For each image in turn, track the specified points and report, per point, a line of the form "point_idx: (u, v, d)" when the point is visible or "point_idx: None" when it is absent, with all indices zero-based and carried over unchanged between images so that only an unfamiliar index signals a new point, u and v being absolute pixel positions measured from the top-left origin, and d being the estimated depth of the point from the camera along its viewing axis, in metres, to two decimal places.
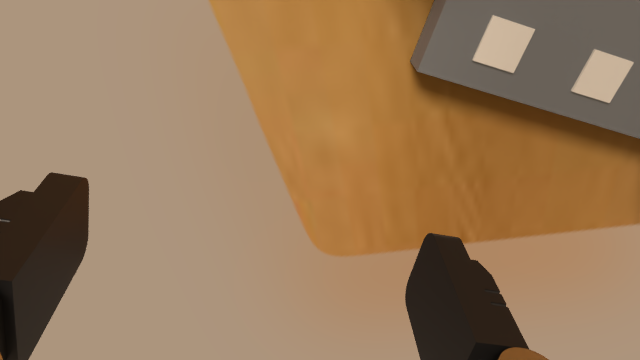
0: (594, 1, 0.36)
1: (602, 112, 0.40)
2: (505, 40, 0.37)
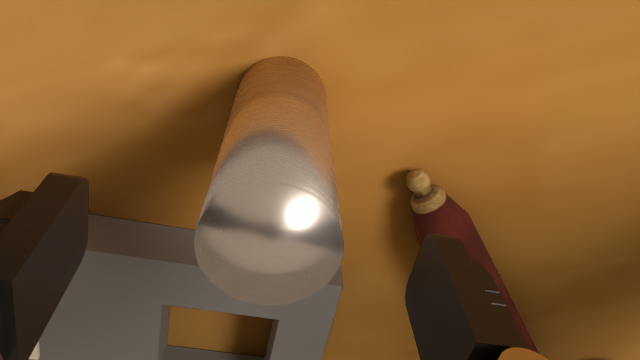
0: None
1: None
2: None
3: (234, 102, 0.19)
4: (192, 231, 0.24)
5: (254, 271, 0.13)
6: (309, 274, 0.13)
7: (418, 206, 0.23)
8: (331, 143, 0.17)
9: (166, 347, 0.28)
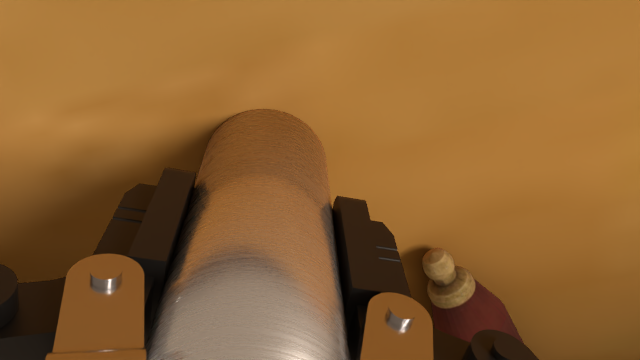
0: None
1: None
2: None
3: (196, 182, 0.13)
4: None
5: None
6: None
7: (439, 298, 0.17)
8: (337, 256, 0.12)
9: None
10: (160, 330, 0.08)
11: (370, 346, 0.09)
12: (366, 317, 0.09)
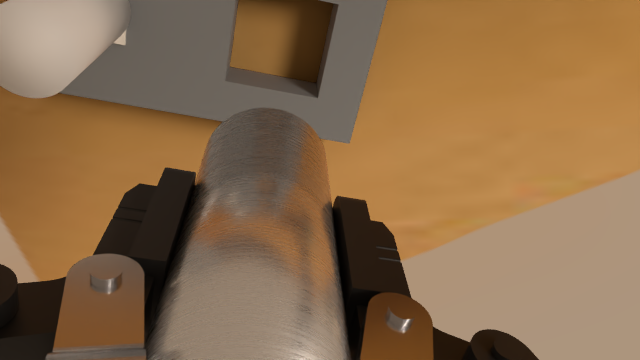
0: None
1: None
2: None
3: (196, 180, 0.13)
4: None
5: None
6: None
7: None
8: (337, 254, 0.11)
9: None
10: (160, 328, 0.08)
11: (370, 346, 0.09)
12: (366, 317, 0.09)
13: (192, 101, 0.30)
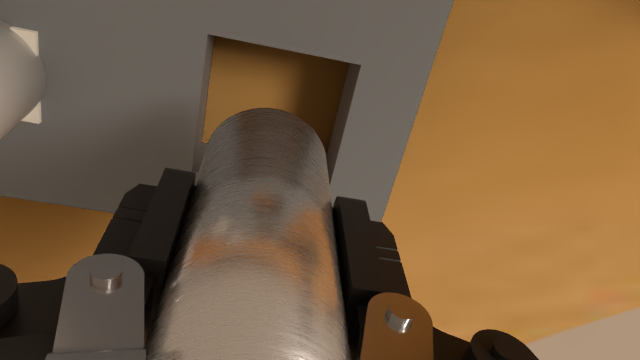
0: None
1: None
2: None
3: (196, 181, 0.13)
4: None
5: None
6: None
7: None
8: (337, 255, 0.11)
9: None
10: (160, 329, 0.08)
11: (370, 346, 0.09)
12: (366, 317, 0.09)
13: None
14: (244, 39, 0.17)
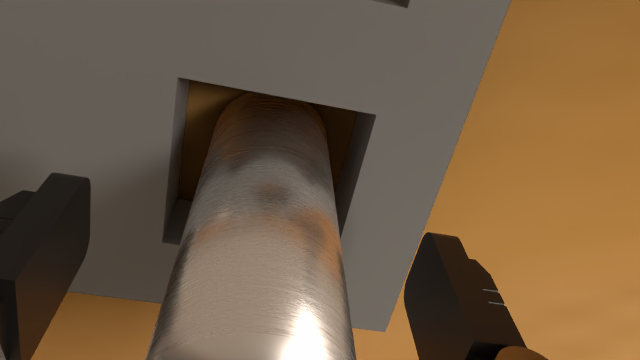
0: None
1: None
2: None
3: (208, 152, 0.15)
4: None
5: None
6: None
7: None
8: (336, 216, 0.13)
9: None
10: (182, 267, 0.10)
11: None
12: None
13: (104, 274, 0.16)
14: (225, 83, 0.13)
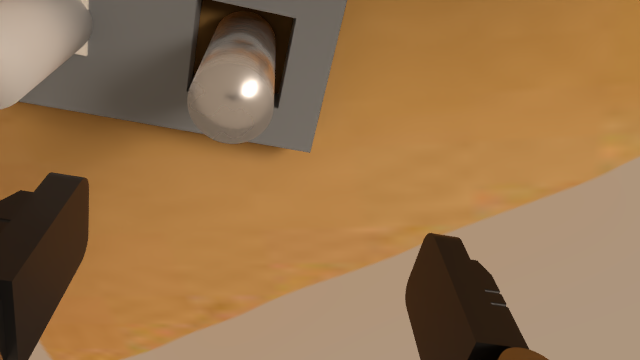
0: None
1: None
2: None
3: None
4: None
5: (222, 120, 0.23)
6: (254, 122, 0.23)
7: None
8: (274, 60, 0.27)
9: None
10: (203, 60, 0.24)
11: None
12: None
13: (154, 110, 0.30)
14: (220, 0, 0.27)
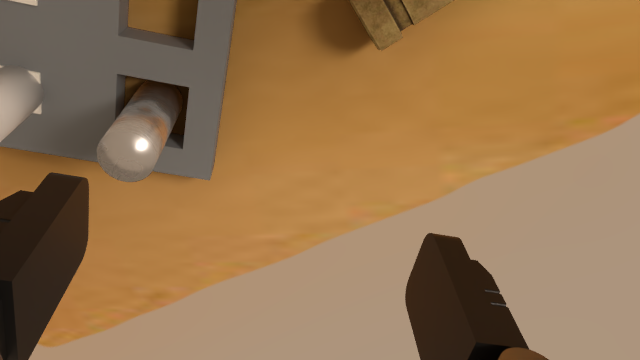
0: None
1: None
2: None
3: None
4: None
5: (121, 166, 0.34)
6: (143, 168, 0.34)
7: None
8: (169, 119, 0.38)
9: None
10: None
11: None
12: None
13: (92, 151, 0.42)
14: (133, 76, 0.39)
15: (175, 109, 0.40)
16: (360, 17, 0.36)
